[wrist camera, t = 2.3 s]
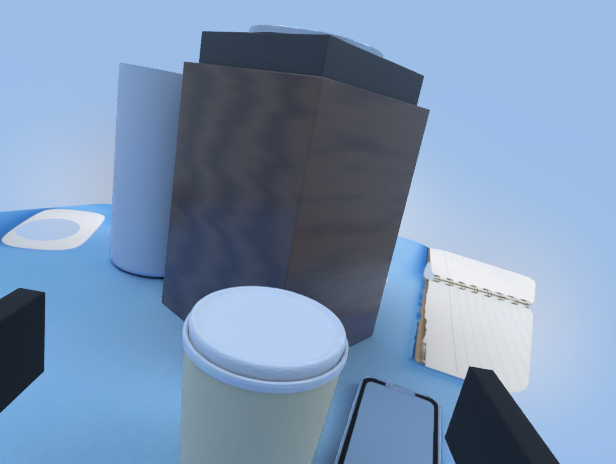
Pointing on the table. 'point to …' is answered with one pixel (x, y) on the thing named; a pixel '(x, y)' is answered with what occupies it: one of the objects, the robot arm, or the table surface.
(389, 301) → the table surface
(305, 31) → the scale pan
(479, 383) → the robot arm
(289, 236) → the dark grey tall block
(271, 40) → the scale
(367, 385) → the smartphone
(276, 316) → the coffee cup
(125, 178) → the cylinder vase
